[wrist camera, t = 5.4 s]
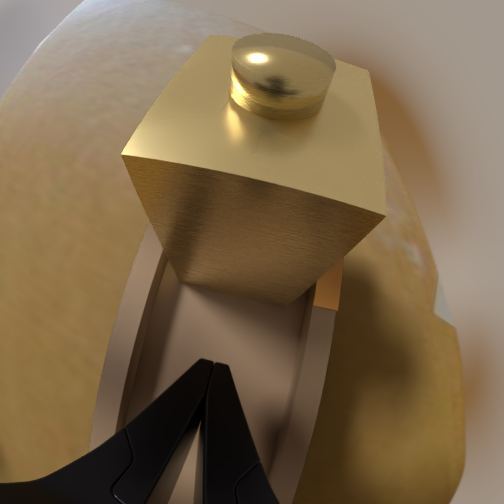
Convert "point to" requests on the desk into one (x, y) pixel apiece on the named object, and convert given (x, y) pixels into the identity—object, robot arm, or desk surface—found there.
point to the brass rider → (260, 166)
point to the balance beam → (220, 360)
